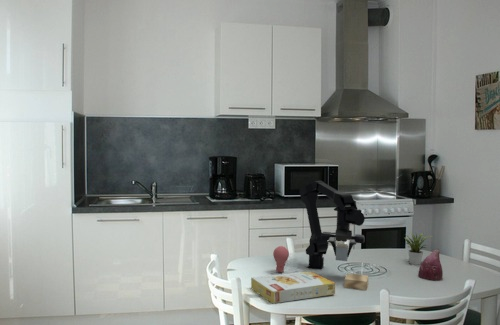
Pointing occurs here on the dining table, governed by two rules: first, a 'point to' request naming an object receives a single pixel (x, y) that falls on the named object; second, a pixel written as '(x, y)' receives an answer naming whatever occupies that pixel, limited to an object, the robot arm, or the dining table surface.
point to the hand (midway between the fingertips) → (341, 256)
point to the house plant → (415, 249)
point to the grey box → (342, 252)
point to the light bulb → (280, 257)
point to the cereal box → (292, 286)
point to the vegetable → (431, 267)
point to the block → (356, 281)
